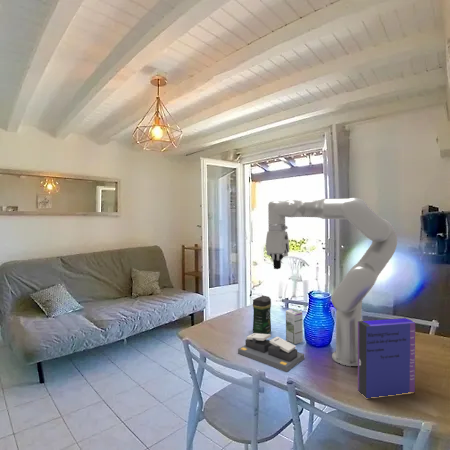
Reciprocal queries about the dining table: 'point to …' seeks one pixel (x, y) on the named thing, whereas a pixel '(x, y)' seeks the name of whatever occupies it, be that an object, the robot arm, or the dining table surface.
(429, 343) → the dining table surface
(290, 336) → the syrup box
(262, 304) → the coffee jar
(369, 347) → the blue upright rectangular block
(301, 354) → the switch panel
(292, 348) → the inner rocker
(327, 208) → the robot arm
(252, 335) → the outer rocker
